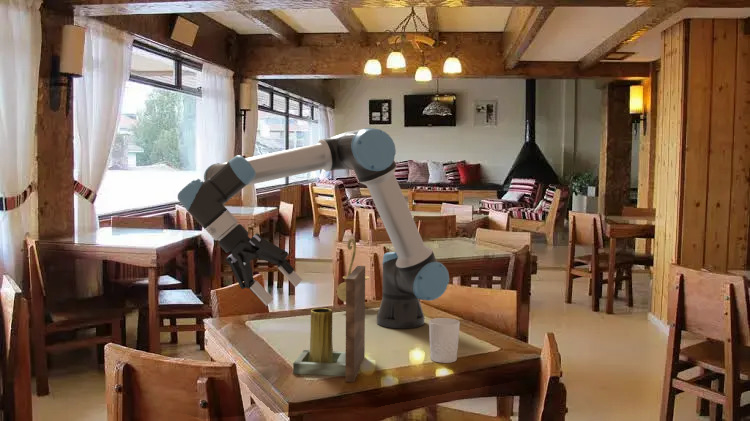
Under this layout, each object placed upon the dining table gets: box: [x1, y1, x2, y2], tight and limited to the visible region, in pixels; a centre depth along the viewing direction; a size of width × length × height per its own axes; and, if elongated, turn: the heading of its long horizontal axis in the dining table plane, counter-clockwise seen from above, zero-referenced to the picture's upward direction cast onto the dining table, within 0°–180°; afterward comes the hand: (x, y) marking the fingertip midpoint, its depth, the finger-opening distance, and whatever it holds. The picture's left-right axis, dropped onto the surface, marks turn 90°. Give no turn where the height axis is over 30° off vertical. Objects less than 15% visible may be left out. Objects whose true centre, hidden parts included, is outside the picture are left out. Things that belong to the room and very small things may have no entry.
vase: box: [309, 307, 334, 363], centre depth 160 cm, size 6×6×14 cm
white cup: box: [428, 317, 461, 364], centre depth 167 cm, size 8×8×10 cm
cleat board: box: [292, 265, 366, 383], centre depth 159 cm, size 15×20×24 cm
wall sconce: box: [336, 237, 370, 303], centre depth 227 cm, size 14×10×25 cm
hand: (284, 293), depth 167 cm, fingers open, 13 cm apart
